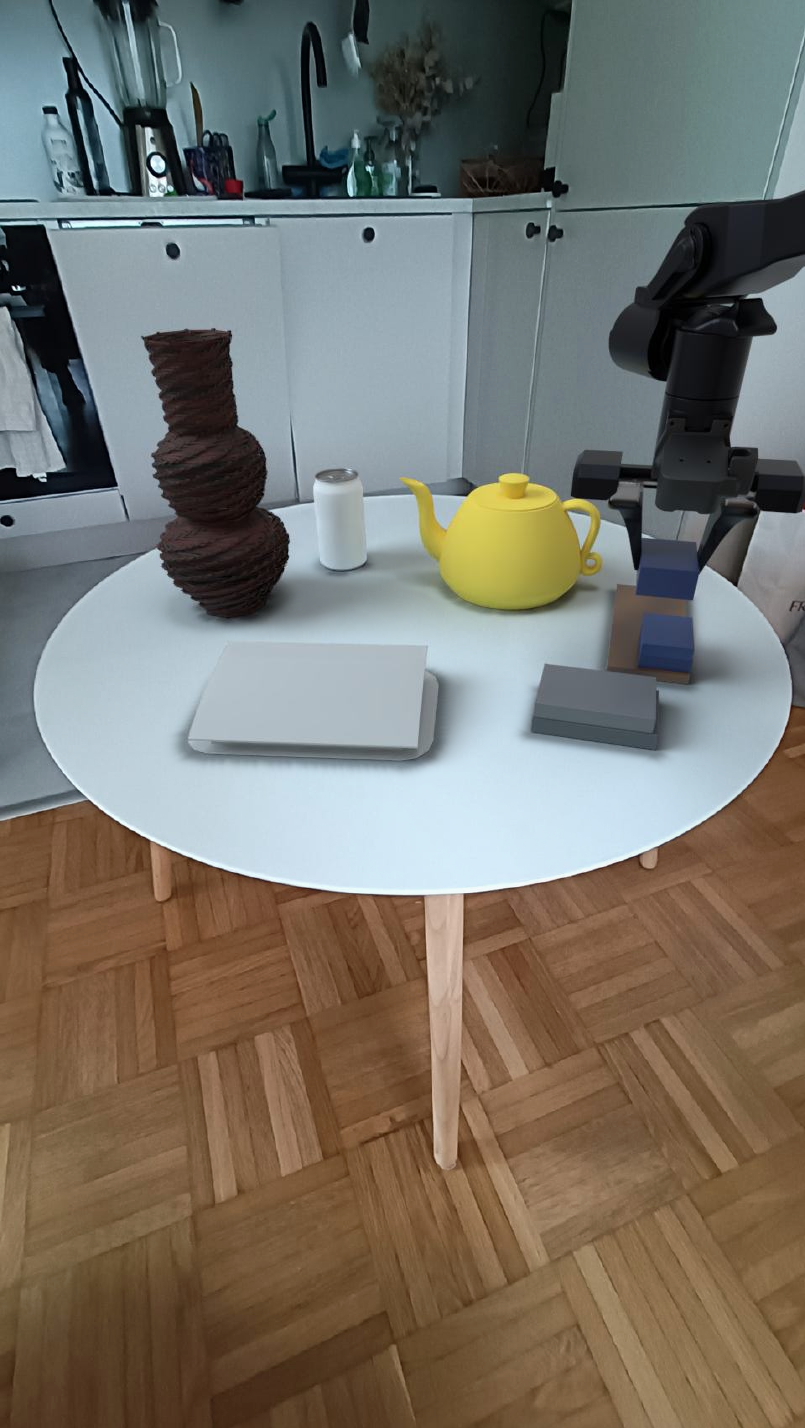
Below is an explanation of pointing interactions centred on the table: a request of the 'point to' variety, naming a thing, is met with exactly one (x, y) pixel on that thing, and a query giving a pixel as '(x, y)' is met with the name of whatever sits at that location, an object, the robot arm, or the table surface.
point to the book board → (638, 632)
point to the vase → (212, 479)
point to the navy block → (667, 569)
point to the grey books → (597, 706)
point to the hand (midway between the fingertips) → (665, 571)
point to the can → (340, 519)
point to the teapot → (509, 543)
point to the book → (318, 701)
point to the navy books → (666, 643)
